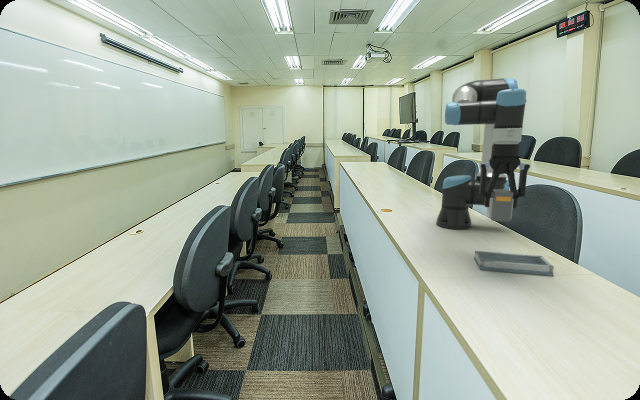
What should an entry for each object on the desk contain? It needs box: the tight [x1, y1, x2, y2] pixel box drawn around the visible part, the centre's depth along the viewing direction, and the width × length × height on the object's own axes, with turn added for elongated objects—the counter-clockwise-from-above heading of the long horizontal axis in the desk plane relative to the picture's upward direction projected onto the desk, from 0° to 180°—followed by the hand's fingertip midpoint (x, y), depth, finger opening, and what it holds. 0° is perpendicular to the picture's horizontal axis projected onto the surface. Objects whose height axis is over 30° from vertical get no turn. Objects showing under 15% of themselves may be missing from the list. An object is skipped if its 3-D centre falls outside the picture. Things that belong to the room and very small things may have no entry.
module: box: [489, 189, 513, 223], centre depth 100 cm, size 6×5×9 cm
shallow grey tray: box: [473, 250, 555, 277], centre depth 103 cm, size 10×20×3 cm, turn 75°
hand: (498, 217), depth 101 cm, fingers closed on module, 5 cm apart
